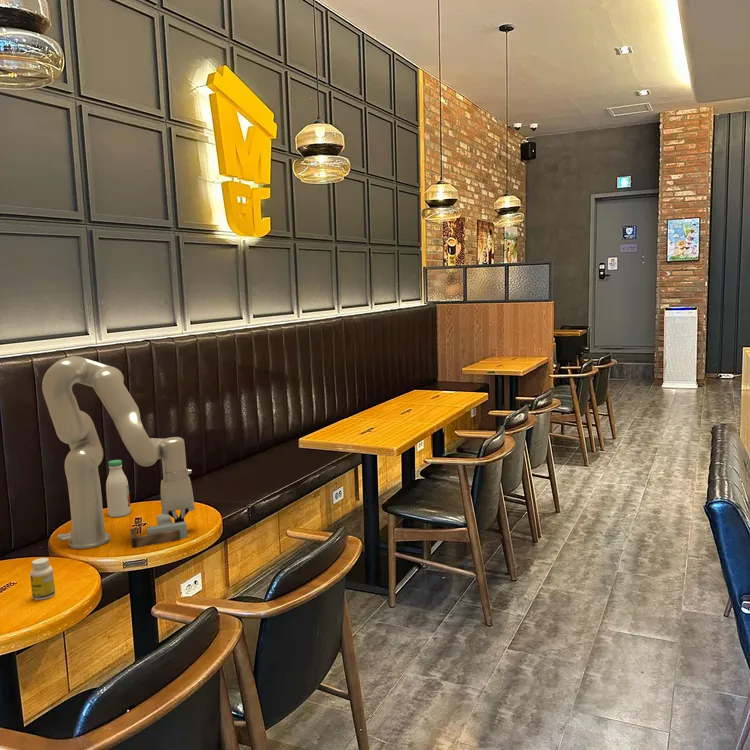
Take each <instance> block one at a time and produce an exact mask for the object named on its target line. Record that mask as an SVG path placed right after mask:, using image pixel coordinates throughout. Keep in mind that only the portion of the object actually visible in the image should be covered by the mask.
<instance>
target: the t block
mask: <svg viewBox="0 0 750 750" xmlns="http://www.w3.org/2000/svg"><path fill="white" fill-rule="evenodd" d="M156 518H157V521H156V522H157V525H154V526H147V527H146V532H147V533H146V534H147V535H148V534H155V533H161V532H167V531H173V530H179V531H180V539H186V537H187V538H188V528H187V525H188V524H187V522H186V520H184V522H178V523H175V522H173V521H172V520H173V519H172V517H171V516H170V515H163V514H162V513H161V514H157V515H156Z"/></svg>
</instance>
